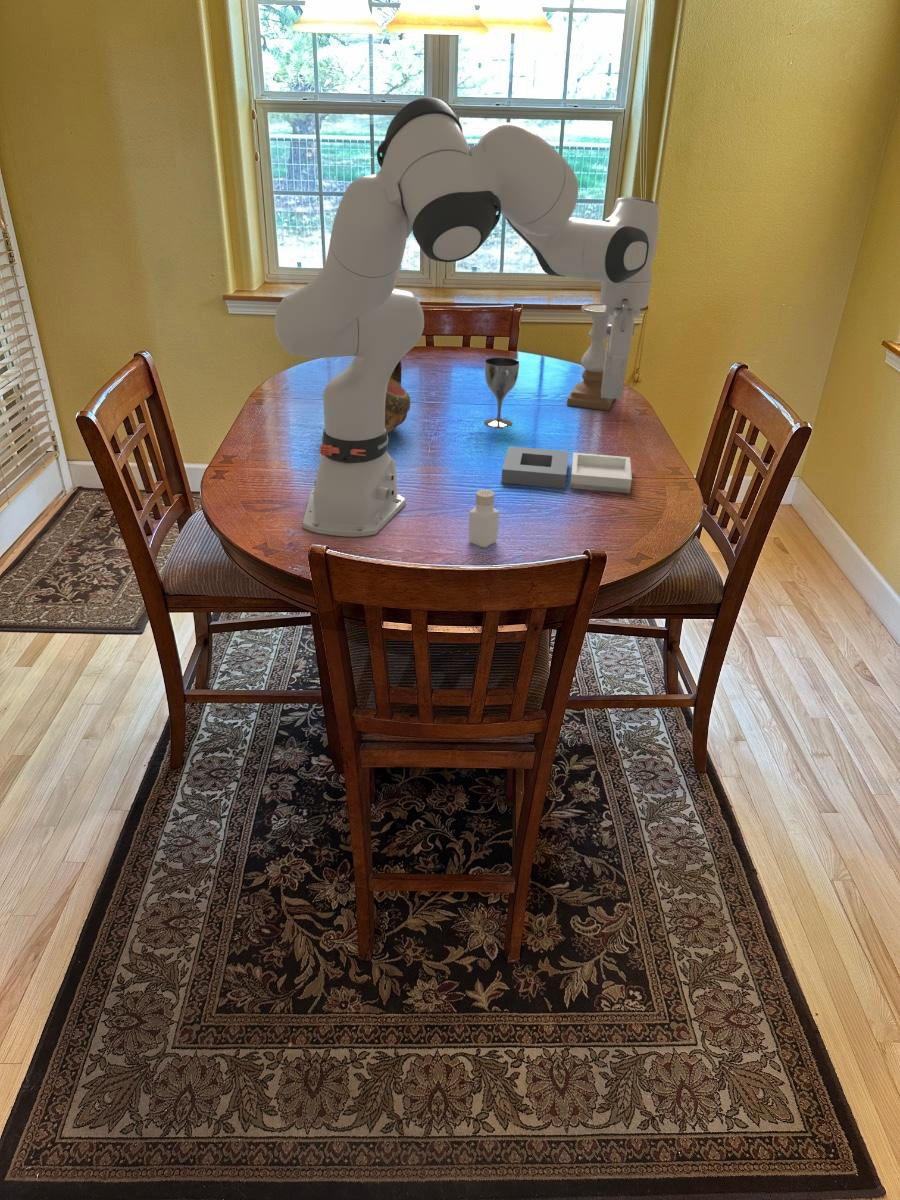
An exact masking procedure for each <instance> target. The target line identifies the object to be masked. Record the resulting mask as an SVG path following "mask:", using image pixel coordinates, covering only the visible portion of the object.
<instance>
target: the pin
mask: <svg viewBox="0 0 900 1200" xmlns="http://www.w3.org/2000/svg"><path fill="white" fill-rule="evenodd" d="M610 331H611V322H609V323H607V327H606V333H607V334H608V337H607V342H606V348H605V349H606V357H605V365H604V372H603V380H602V388H601V398H611V399H614V400H622V399H623V393H624V392H623V391H624V385H625V378H626V371H627V365H628V358H629V357H628V358H623V360H622V363H621V368H620V373H619V374H611V372H610V369H611V360H612V357H610V356H609V338H610ZM621 332H622V331H621ZM623 332H624V331H623ZM634 333H635V324H633V332H632V336H634Z"/></svg>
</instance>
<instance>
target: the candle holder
mask: <svg viewBox="0 0 900 1200" xmlns="http://www.w3.org/2000/svg"><path fill="white" fill-rule="evenodd" d="M580 309H581V312H583V313H585V314H587V315H590V319H591V321H592V327H591V329H590V330H589V332H588V335H589V338H590V340H591V341H590V342H591V343H590V345H589V347H588V348H587V350H586V351H585V352H584V353H583V355H582V357H581V361H580V363H581V366H582V367H583V368H584V369H585V370H583V372H582V375H581V378H582V379H583V380H582V381H580V382H577V383H576V384H575V386H574V387H573V388H572V391H571V392H570V394H569V395H568V397H567V398H566V399H567V400H566V406H568V405H569V406H570V407H575V408H584V409H593V410H600V411H609V410H610V408H611V406H612V404H613V403H614V401H615V399H611V398H601V388H602V380H603V372H604V365H605V357H606V349H607V348H606V346H605V342H606V340H608V334H607V333H606V327H607V323H608V314H607V313H606V312H605V310H606V306H605V305H602V304H601V303H600V302H594V303H593V302H591V303H586V304H583V305H582V306H581V308H580ZM569 406H568V407H569Z"/></svg>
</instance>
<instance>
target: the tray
mask: <svg viewBox="0 0 900 1200" xmlns="http://www.w3.org/2000/svg"><path fill="white" fill-rule="evenodd" d="M631 467H632V464H631V457H630V456H619V455H608V454H597V453H596V454H595V453H586V452H585V453H584V452H583V453H582V452H573V453H572V461H571V472H570V480H569V481H570V485H569V489H577V490H578V489H579V490H588V491H589V490H590V491H600V492H610V493H611V492H612V493H621V494H623V493H624V494H630V493H631V486H632V481H633V479H632V468H631Z"/></svg>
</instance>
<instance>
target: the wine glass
mask: <svg viewBox="0 0 900 1200" xmlns="http://www.w3.org/2000/svg"><path fill="white" fill-rule="evenodd" d="M519 369H520V361H519V360H518V359H516V358H513V357H509V356H492V357H488V358H486V359H485V361H484V377H485V382H486V385H487V387H488V388H489V390H490V391H491V392H492V394H493V395H494V397H495V399H496V402H497V404H496V405H497V412H496V413H497V414H496V416H497V417H492V418H487V419H485V420H484V421H483V424H484V425H485V426H486V425H487V426H486V427H488V426H489V428H492V427H495V428H494V429H504V428H503V427H508V426H511V427H512V426H513V425H514V422H513V421H512V422H513V423H512V422H511V420H510V419H507V418H503V417H501V413H502V406H503V401H504V399H505V398H506V396H507V395H508V394H509V393H510V392H511V391H512V390H513V388H514V387H515V386H516V382H517V380H518V376H519ZM502 418H503V419H502ZM512 424H513V425H512ZM508 428H509V427H508Z"/></svg>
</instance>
